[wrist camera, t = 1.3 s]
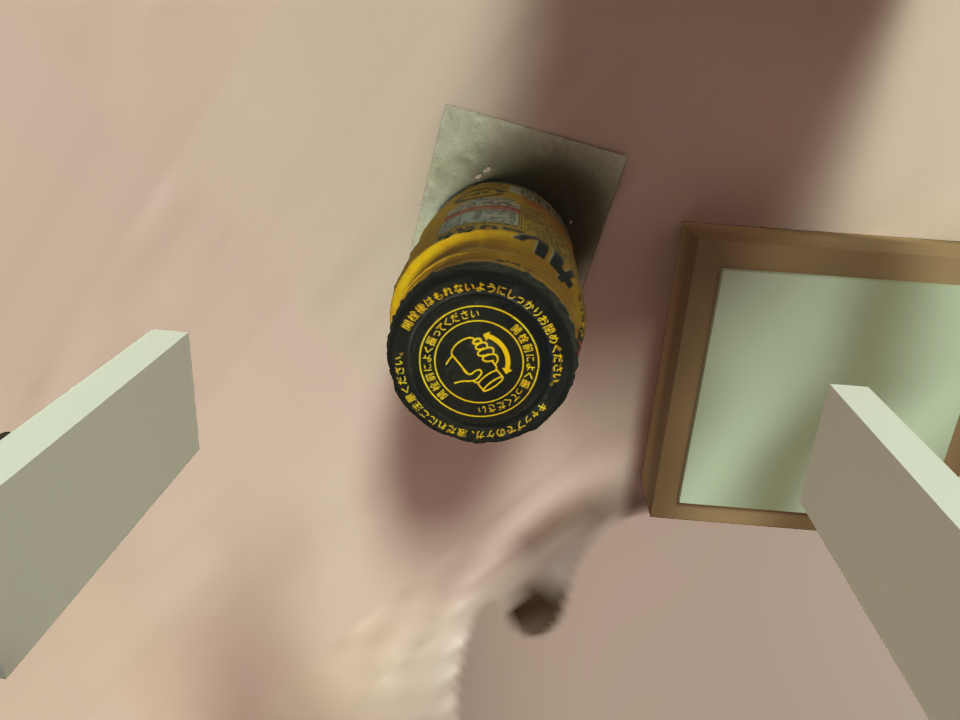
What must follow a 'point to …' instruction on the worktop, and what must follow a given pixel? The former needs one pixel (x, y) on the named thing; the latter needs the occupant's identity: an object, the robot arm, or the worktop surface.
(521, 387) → the condiment
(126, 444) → the robot arm
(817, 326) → the stand
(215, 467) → the worktop surface
